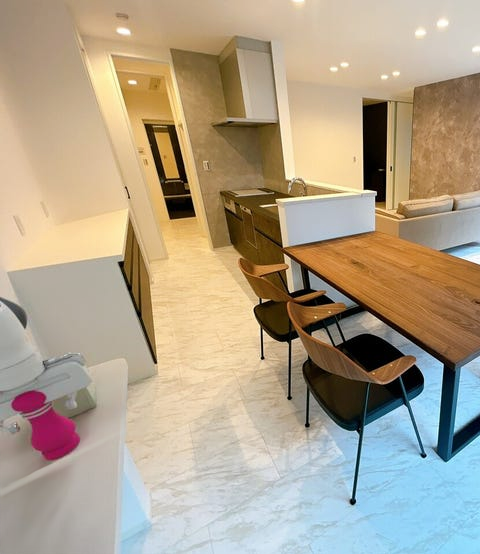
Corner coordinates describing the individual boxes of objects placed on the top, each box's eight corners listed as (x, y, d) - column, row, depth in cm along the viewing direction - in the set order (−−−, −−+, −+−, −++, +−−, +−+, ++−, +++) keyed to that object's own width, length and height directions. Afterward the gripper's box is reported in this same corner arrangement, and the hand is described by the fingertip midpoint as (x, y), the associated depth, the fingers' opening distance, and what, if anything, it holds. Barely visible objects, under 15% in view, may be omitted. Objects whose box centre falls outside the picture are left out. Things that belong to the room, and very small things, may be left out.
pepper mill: (82, 429, 76) (45, 367, 68) (83, 447, 71) (42, 382, 63) (43, 448, 72) (-2, 383, 64) (40, 468, 67) (-9, 401, 59)
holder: (41, 430, 77) (28, 409, 74) (45, 406, 84) (33, 387, 82) (96, 406, 83) (86, 386, 81) (95, 386, 91) (85, 368, 88)
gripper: (79, 343, 71) (102, 388, 77) (-58, 388, 59) (-19, 438, 64) (79, 355, 67) (103, 401, 72) (-70, 406, 54) (-27, 458, 60)
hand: (45, 419), depth 68 cm, fingers open, 8 cm apart
